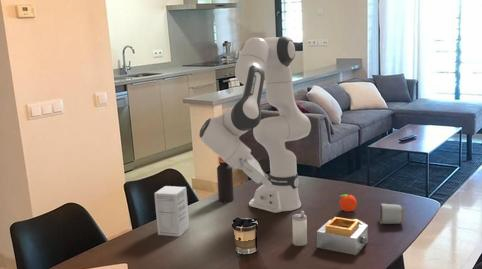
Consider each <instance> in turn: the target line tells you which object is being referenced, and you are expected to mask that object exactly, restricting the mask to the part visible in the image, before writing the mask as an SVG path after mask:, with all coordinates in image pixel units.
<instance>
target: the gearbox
mask: <svg viewBox="0 0 482 269" xmlns="http://www.w3.org/2000/svg"><path fill="white" fill-rule="evenodd" d="M359 221H360V220H359ZM359 221H357V220H353V219H349V218H344V217H339V216H338V217H337V216H334V217H333V218H332V219H329V220H328V221H327V222H325V223H324V224H323V225H321V227H320V228H319V229H318V230H316V248H318V249H322V250H328V251H333V252H338V253H343V254H346V255H347V254H349V255H352V256H353V255H354V256H357V255H358V254H359V253H360V251H361V250H362V249H364V248H363V247H365V245H366V244H367V243H368V237H369V236H368V232H369V231H368V227H369V225H368V226H366V225H360V224H359Z"/></svg>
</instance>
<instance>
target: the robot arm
mask: <svg viewBox="0 0 482 269" xmlns="http://www.w3.org/2000/svg"><path fill="white" fill-rule="evenodd" d="M295 55H296V46H295V43H294V40H292V39H291V37H288V36H280V37H279V36H278V37H277V36H273V37H265V38H261V37H256V36H255V37H250V38H248V39H247V40H246V41H245V42H244V43H243V44H242V46H241V48H240V53H239V55H238V58H237V61H236V63H235V67H234V76H235V79H236V80H237V82H239V83H241V85H243V91H242V95H241V98H240V99H239V100H238V101H237V102H236V103H235V105H233V106H232V107H231V108H230V109H228V110H227V111H225V112H224V113H222V114H221V115H218V116H216V117H213V118H212V117H211V118H208V119H207V120H205V121H204V123H203V124H202V126H201V128H200V130H199V135H198V136H199V139H200V140H201V141H202V142H203V143H204V144H205V146H207V148H208V149H210V150H211V151H212V152H213V153H214V154H216V155H218V156H221V157H222V159H223V160H224V161H225V162H226V163H227V164H228V165H230V166H231V167H232V170H233V169H234V170H237V169H239V170H242V172H244V174H245V175H247V176H248V177H249V178H250V179H251V181H253V182H255V183H256V184H258V185H260V184H262V185H260V186H259V187H258V188H256V190H255V192H254V196H253V198H252V199H250V201H249V202H248V206H249V207H252V208H257V209H258V210H263V211H267V212H271V213H274V214H275V213H281V212H290V211H295V210H299V209H300V208H301V206H302V202H301V200H300V195H299V189H298V187H299V176H298V172H297V169H298V168H297V167H298V166H297V157H296V155H295V153H294V152H293V151H291V150H289V149H287V148H286V144H285V143H286V142H292V141H298V140H301V139H303V138H306V137H308V136H309V134H310V133H311V130H312V124H311V121H310V119H309V117H308V116H307V115H306V114H304V113H303V112H302V111H301V110H300V109H299V107H298V106H297V103H296V100H295V99H296V98H295V95H294V85H293V74H292V69H291V65H290V64H291V63H292V62H293V60H294V59H295ZM264 83H265V84H264ZM264 85H265V92H266V93H265V96H266V101H267V103H268V104H269V105H270V106H272V107H274V108H276V109H277V111H278V113H279V114H278V115H279V116H278V115H277V116H269V117H268V116H267V117H264V118H263V119H262V109H261V101H262V100H261V99H262V94H263V89H264ZM252 129H253V130H252ZM251 130H252V131H253V132H252V134H253V138H254V139H255V141H256V142H257V143H259V144H260V145H261V146H262V147H264V149H265V151H266V152H267V154H268V157H269V168H270V169H269V170H270V172H269V173H268V174H267V173H265V171H264V170H263V169H262V167H261V165H260V163H259V162H258V160H257V159H256V158H255V157H254V156H253V154H251V153H252V150H251V148H249V147H248V146H247V145H246V144H245V143H244V142H242V140H240V137H241V136H242V135H244V134H246V133H247V132H248V131H251Z"/></svg>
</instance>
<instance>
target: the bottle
mask: <svg viewBox="0 0 482 269" xmlns="http://www.w3.org/2000/svg"><path fill="white" fill-rule="evenodd" d="M218 164H219V165H218V166H217V168H216V176H217V177H216V178H217V191H218V192H217V194H218V195H217V196H218V201H219V202H221V203H229V202H232V201H234V199H235V198H234V197H235V196H234V194H235V193H234V178H233V168H232V167H231V166H230V165H228V164H227V163H226V162H225V161H224V160H223V159H222V157H221V156H220V155H218Z"/></svg>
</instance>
